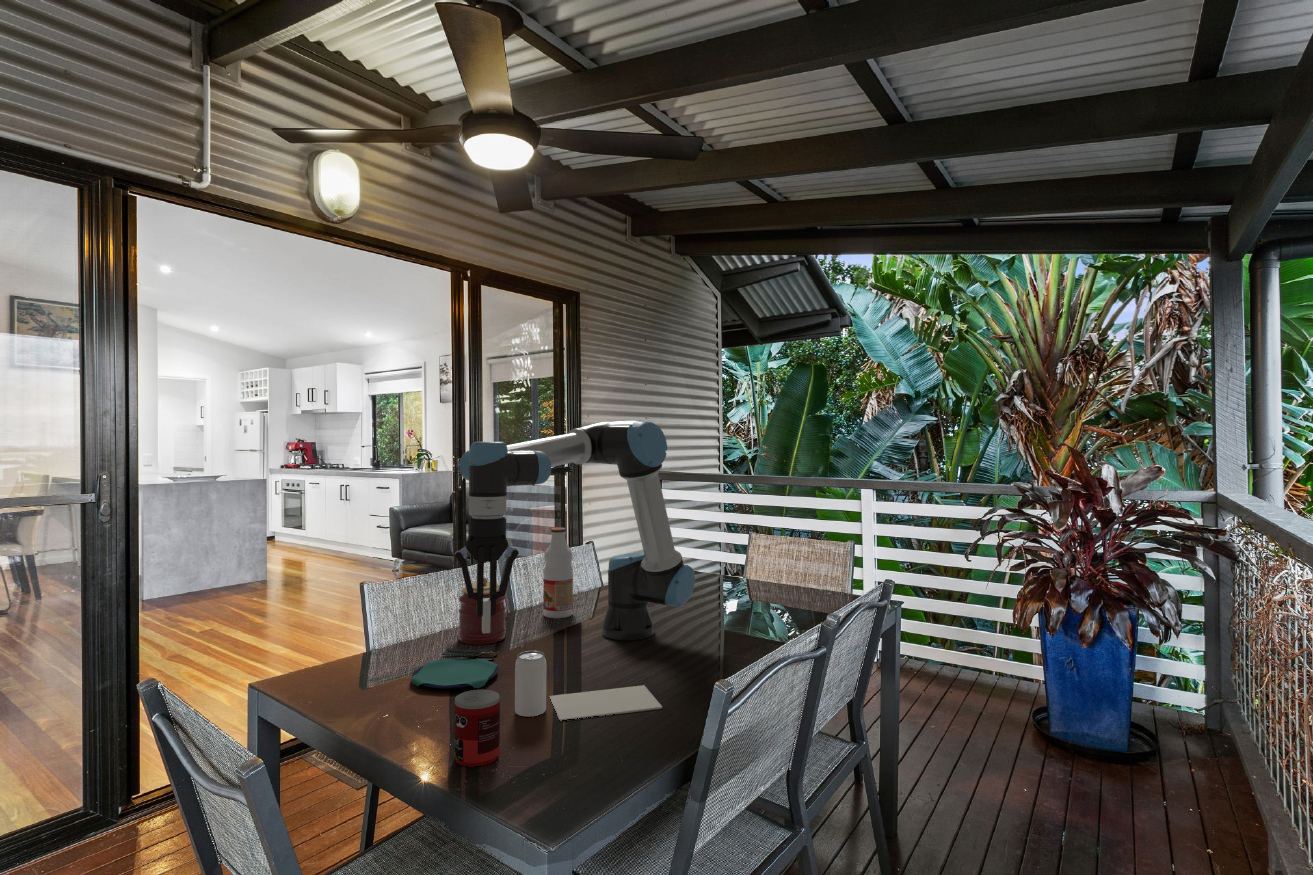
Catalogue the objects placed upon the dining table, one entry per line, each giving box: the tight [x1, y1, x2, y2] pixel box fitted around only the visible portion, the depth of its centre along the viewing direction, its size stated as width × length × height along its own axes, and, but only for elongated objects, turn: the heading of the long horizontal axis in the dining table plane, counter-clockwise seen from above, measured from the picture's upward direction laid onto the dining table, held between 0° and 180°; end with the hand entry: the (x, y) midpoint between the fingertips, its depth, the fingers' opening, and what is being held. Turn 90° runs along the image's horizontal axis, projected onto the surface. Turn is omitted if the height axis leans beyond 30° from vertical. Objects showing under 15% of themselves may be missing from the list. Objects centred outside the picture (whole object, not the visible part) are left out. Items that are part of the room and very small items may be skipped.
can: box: [514, 650, 547, 717], centre depth 144 cm, size 6×6×12 cm
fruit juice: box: [542, 526, 574, 619], centre depth 220 cm, size 9×9×28 cm
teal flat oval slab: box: [410, 648, 499, 690], centre depth 168 cm, size 20×30×2 cm, turn 0°
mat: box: [548, 684, 663, 722], centre depth 149 cm, size 13×22×1 cm, turn 108°
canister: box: [458, 576, 507, 646], centre depth 194 cm, size 13×13×18 cm
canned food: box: [453, 689, 501, 768], centre depth 123 cm, size 8×8×11 cm
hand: (485, 631), depth 140 cm, fingers closed
